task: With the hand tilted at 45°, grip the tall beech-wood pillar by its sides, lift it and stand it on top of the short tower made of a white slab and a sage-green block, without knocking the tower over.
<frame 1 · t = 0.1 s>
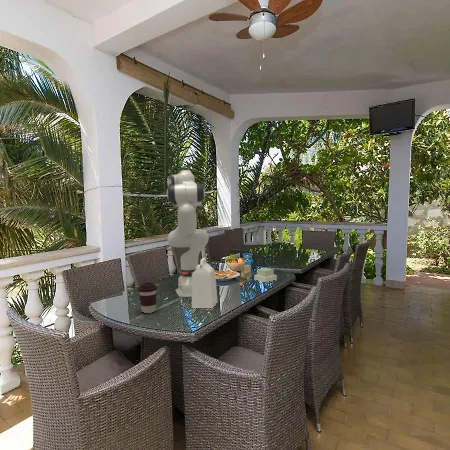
hand: (187, 212, 252), 48 cm above the table, tool pointing down, fingers open, 8 cm apart
beech pillar: (246, 277, 255), on the table
tower top block: (265, 275, 246), point 4 cm above the table, touching tower base slab
coffee cup: (148, 312, 187), on the table
tower base slab: (265, 280, 246), on the table, touching tower top block
milk: (205, 305, 195), on the table
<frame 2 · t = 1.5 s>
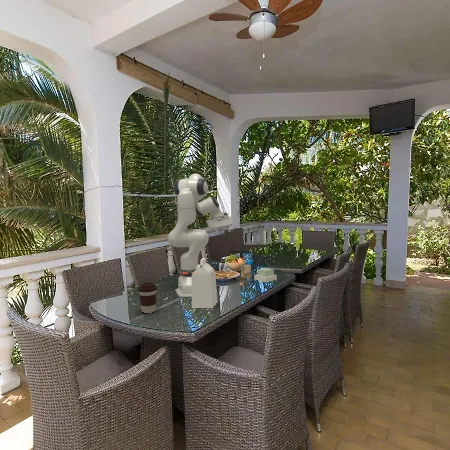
hand: (224, 232, 263), 32 cm above the table, tool tilted 35°, fingers open, 8 cm apart
nothing on the table moved.
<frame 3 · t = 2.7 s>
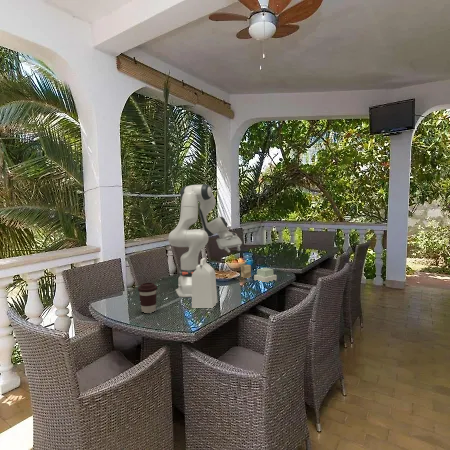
hand: (234, 251, 263), 18 cm above the table, tool tilted 45°, fingers open, 8 cm apart
nothing on the table moved.
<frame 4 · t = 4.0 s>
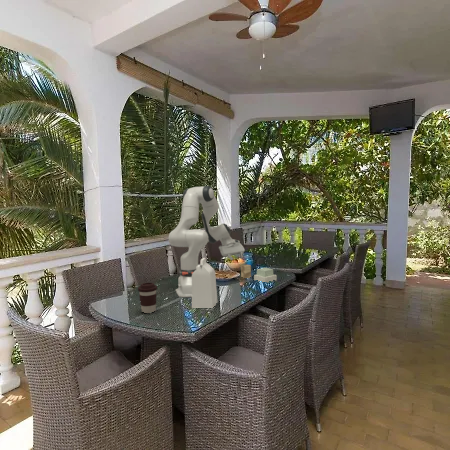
hand: (237, 258, 261), 13 cm above the table, tool tilted 45°, fingers open, 8 cm apart
nothing on the table moved.
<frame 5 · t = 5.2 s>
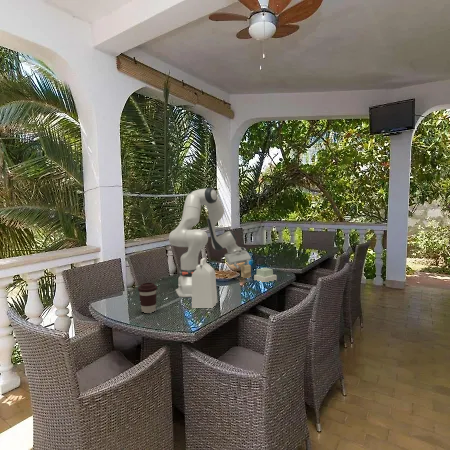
hand: (243, 266, 256), 7 cm above the table, tool tilted 45°, fingers open, 8 cm apart
nothing on the table moved.
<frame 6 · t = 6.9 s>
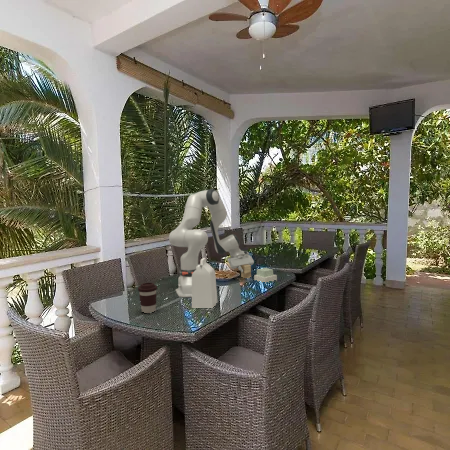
hand: (246, 271, 254), 5 cm above the table, tool tilted 45°, fingers closed on beech pillar, 5 cm apart
beech pillar: (246, 277, 255), on the table, touching gripper
everything else where it was.
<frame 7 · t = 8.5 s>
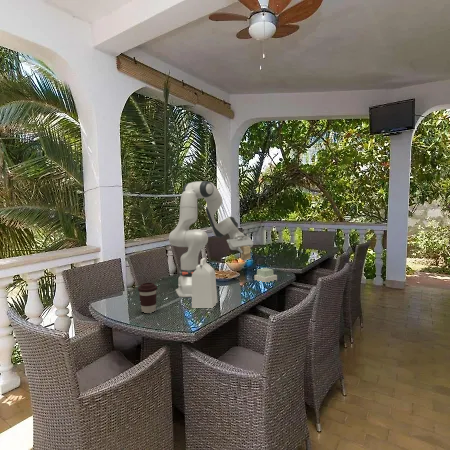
hand: (246, 252, 252), 19 cm above the table, tool tilted 45°, fingers closed on beech pillar, 5 cm apart
beech pillar: (245, 259, 253), point 14 cm above the table, touching gripper
everything else where it was.
when the fingers open (14 cm above the table, at t = 11.6 s): beech pillar drops 2 cm, resting on tower top block.
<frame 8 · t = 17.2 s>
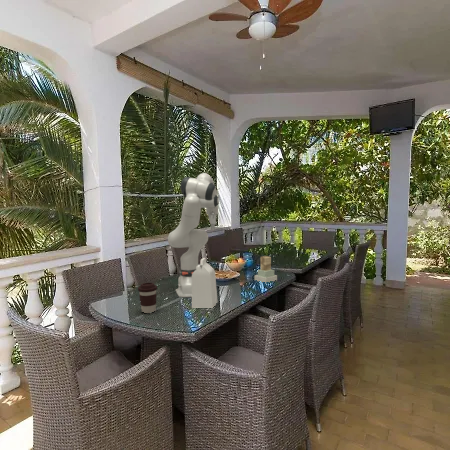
hand: (212, 230, 262), 34 cm above the table, tool pointing down, fingers open, 8 cm apart
beech pillar: (265, 269, 245), point 7 cm above the table, touching tower top block
tower top block: (266, 275, 244), point 3 cm above the table, touching beech pillar, tower base slab
everything else where it was.
at the end: beech pillar 0.9 cm off-centre on the tower top block, point 4.0 cm above the tower top block's base; tower top block 0.7 cm off-centre on the tower base slab, point 4.0 cm above the tower base slab's base; beech pillar tilted 1° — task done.
